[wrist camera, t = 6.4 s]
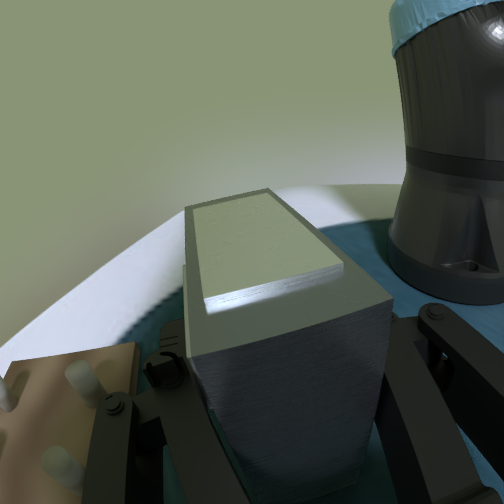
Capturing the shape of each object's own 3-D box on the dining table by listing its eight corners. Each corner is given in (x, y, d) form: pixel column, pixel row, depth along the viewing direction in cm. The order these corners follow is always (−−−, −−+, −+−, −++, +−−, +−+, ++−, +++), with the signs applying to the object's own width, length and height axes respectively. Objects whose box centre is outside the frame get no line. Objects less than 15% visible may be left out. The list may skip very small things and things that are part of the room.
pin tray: (140, 351, 20) (121, 312, 19) (137, 580, 6) (90, 567, 5) (18, 370, 19) (-4, 337, 18) (-33, 534, 5) (-76, 505, 3)
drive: (290, 346, 19) (267, 184, 15) (356, 483, 10) (394, 289, 6) (228, 363, 18) (183, 202, 14) (265, 512, 10) (188, 348, 5)
